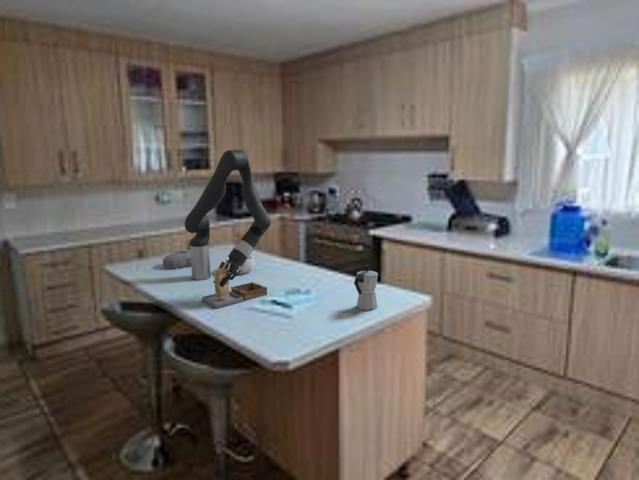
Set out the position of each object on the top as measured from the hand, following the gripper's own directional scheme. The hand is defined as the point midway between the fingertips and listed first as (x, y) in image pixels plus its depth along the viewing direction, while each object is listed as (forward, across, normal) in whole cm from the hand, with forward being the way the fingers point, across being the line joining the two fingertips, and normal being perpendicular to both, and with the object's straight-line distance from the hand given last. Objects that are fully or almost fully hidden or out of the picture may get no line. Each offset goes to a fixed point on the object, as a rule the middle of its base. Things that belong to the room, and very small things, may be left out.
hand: (217, 284), depth 193 cm
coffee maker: (-23, +48, +35) cm, 64 cm away
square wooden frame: (-5, 0, +16) cm, 17 cm away
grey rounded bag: (-5, -72, +17) cm, 74 cm away
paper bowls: (-18, -36, +30) cm, 50 cm away
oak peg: (+3, 0, +5) cm, 6 cm away
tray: (+4, 0, +7) cm, 8 cm away
